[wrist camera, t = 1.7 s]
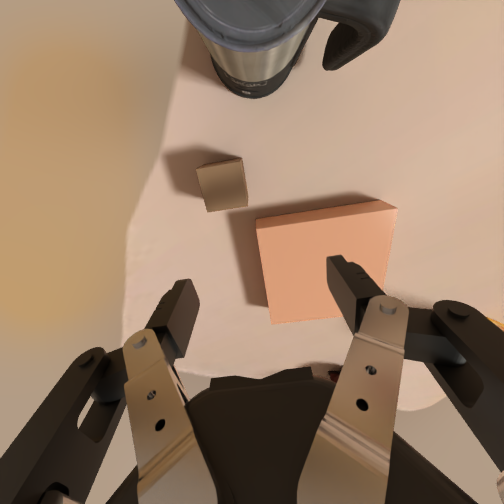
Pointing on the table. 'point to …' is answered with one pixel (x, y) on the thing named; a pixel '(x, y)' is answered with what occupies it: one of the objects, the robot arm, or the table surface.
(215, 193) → the walnut cube
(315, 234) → the terracotta base
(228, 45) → the milk frother
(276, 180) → the table surface
